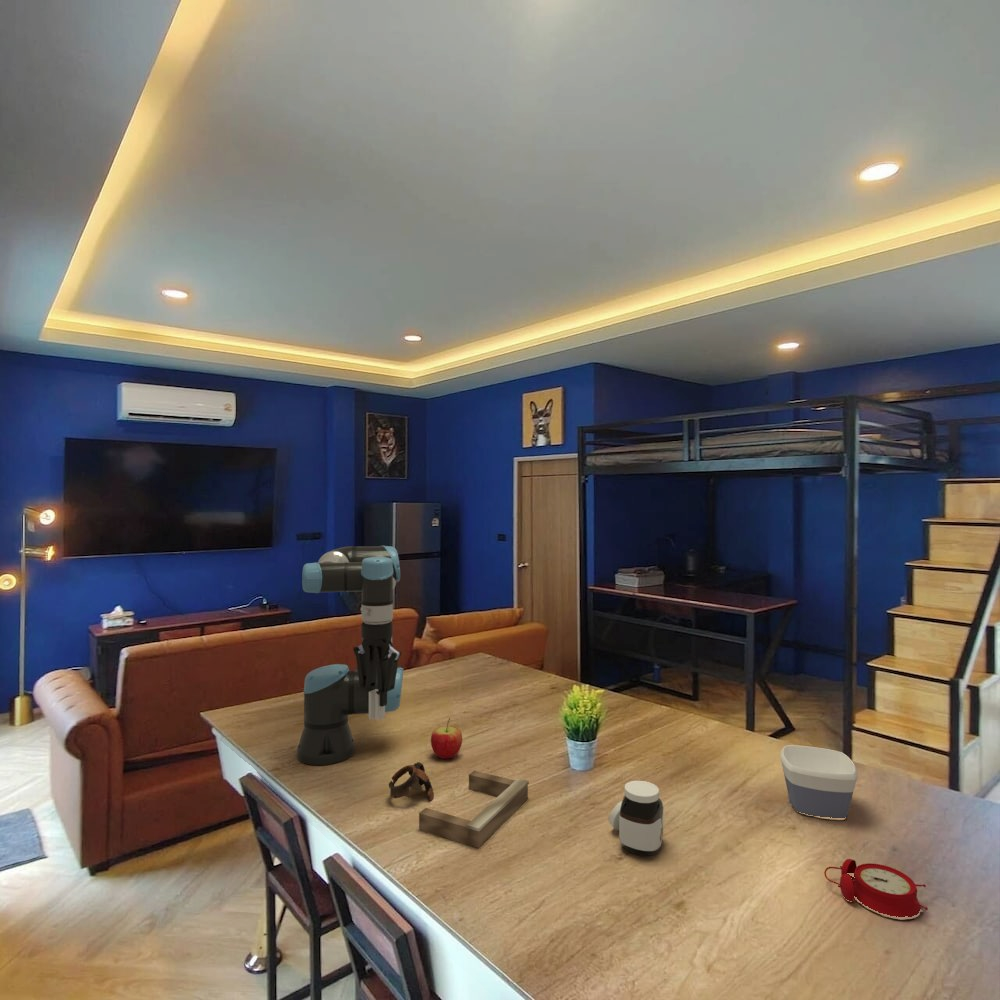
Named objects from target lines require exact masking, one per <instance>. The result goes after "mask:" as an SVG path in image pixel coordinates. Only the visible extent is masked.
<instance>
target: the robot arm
mask: <svg viewBox="0 0 1000 1000" xmlns="http://www.w3.org/2000/svg"><path fill="white" fill-rule="evenodd" d="M400 567H401V566H400V557H399V553H398V550H397V549H396V548H395V547H394V546H390V545H389V546H388V545H379V546H378V545H377V546H368V545H367V546H366V545H365V546H363V545H362V546H359V545H358V546H356V545H355V546H353V545H352V546H351V545H350V546H343V547H339V548H336V549H332V550H330V551H327V552H326V553H324V554H323V555H322V556H321V557H320V558H319V559H318V561H317V562H307V563H305V564H304V565H303V567H302V572H301V573H302V576H301V577H302V579H301V580H302V581H301V583H302V590H303V592H305V593H310V594H311V593H313V594H319V593H320V594H321V593H342V592H345V593H346V592H347V593H350V592H351V593H352V592H353V593H354V592H361V614H360V615H361V618H360V619H361V621H362V623H361V625H360V627H361V628H360V629H361V630H360V631H361V635H360V636H361V638H362V641H361V644H360V645H357V646H355V647H353V652H354V655H355V658H356V669H355V670H350V669H349V666H348V665H347V664H340V663H334V664H329V665H323V666H320V667H318V668H317V667H316V668H314V669H313V670H311V671H310V672H308V673H306V675H305V678H304V686H303V688H304V689H303V699H304V700H303V705H304V706H303V708H304V709H303V711H304V712H303V720H304V721H303V728H302V729H303V730H302V734H301V735H300V739H299V743H298V745H297V748H296V757H297V760H298V761H299V762H301V763H303V764H306V765H310V766H311V765H312V766H325V765H333V764H337V763H339V762H343V761H345V760H348V759H349V758H351V757H352V756H353V755H354V754H355V751H356V750H355V748H356V747H355V740H354V738H353V735H352V731H351V729H350V725H349V716H351V715H364V714H367V715H368V720H372V719H374V718H375V721H377V722H378V721H380V720H382V719H384V718H386V713H389V712H395V711H397V710H399V708H400V706H401V698H402V688H403V679H404V668H403V667H401V666H399V660H400V658H401V655H402V651H401V650H396V649H395V648H394V646H393V635H394V629H393V628H394V623H393V618H394V604H393V603H394V602H393V601H394V599H393V593H394V592H393V590H394V589H395V587H396V585H397V583H398V582H400V580H401V568H400Z"/></svg>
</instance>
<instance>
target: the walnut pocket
mask: <svg viewBox="0 0 1000 1000" xmlns="http://www.w3.org/2000/svg"><path fill="white" fill-rule="evenodd" d="M529 783H530V781H529V780H527V779H522V778H516V779H515V780H514V779H512V778H511V779H510V778H506V777H502V776H498V775H494V774H489V773H487V772H482V771H477V770H473V771H471V772H470V773H469V774H468V789H469V790H471V791H474V792H479V793H481V794H482V793H483V794H486V795H491V796H494V797H496V798H494V800H493V801H491V802H490V803H489V804H488V805H487V806H485V808H484V809H482V810H481V812H479V813H478V814H477V815H476V816H475V817H474V818H473V819H471V820H469V819H466V818H462V817H459V816H455V815H452V814H448V813H446V812H442V811H438V810H434V809H430V808H428V807H425V808H424V809H422V810H421V811H420V812H419V813H418V830H419V831H422V832H426V833H428V834H432V835H434V836H438V837H441V838H445V839H448V840H450V841H454V842H458V843H461V844H464V845H467V846H470V847H473V848H476V849H480V848H481V847H482V845H483V844H485V842H486V841H487V840H489V839H490V837H492V835H493V834H495V833H496V832H497V830H499V828H500V827H501V826H502V825H504V823H505V822H506V821H507V820H508V819H509V818H510V817H511V816H512V815H513V814H514V813H516V812H517V810H518V809H519V808H520V807H521V806H522V805H523V804H524V803H525V802H526V801H527V800H528V798H529Z"/></svg>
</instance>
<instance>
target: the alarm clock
mask: <svg viewBox="0 0 1000 1000" xmlns="http://www.w3.org/2000/svg"><path fill="white" fill-rule="evenodd" d="M841 865H842V866H841ZM841 865H840V866H839V867H836V866H828V867H826V868H825V869H824V872H823V875H824V877H825V879H826V880H827V881H828V882H831V883H833V884H836V885H837V887H838V888H840V892H841V895H842V894H843V895H842V897H843V896H844V897H845V898H846V899H847V900H849V901H853V903H854V902H855V899H854V896H855V897H857V899H858V900H859V901H860V902H862V904H864V905H865V906H868V907H869V908H871V909H873V910H875V911H878V912H879V913H883V914H887V915H890V916H896V917H897V916H898V917H905V916H908V917H912V916H914V915H917V914H918V913H919V911H920V909H922V908H923V909H924V911H928V906H924V905H922V904H921V903H920V902H919V900H918V896H917V895H918V887H923V888H926V887H927V886H926V884H919V883H918V884H917V883H915V882H914V880H913V879H912V878H911V877H910V876H908V875H907V874H905V873H904V872H902V871H900V870H898V869H896V868H893V867H891V866H887V865H883V864H879V863H868V862H867V863H862V864H858V866H857V862H856V860H854V859H851V858H846V859H845V860H844V861H843V863H842V864H841ZM829 869H835V870H840V871H841V875H840V879H839V882H836V881H834V880H832V879H830V878H829V877H828V876H827V872H828V870H829ZM847 873H854V877H855V878H854V877H852V876H850V875H849V874H847ZM851 878H852V879H854V880H852V879H851ZM844 897H843V898H844Z"/></svg>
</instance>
